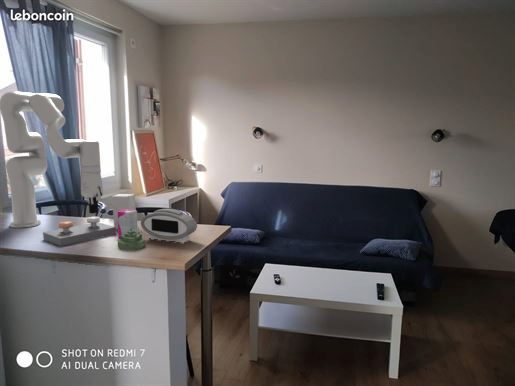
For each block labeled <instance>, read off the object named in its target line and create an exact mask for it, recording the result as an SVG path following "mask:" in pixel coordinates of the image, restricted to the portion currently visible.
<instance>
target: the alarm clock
mask: <svg viewBox="0 0 515 386" xmlns="http://www.w3.org/2000/svg"><path fill="white" fill-rule="evenodd" d="M140 226H141V228H142V229H143V231H144V232H146V233H147V234H148V239H149V238H151V239H150V240H154V239H158V240H157V241H161V240H166V241H165V242H169V241H176V242H183V243H182V244H185V243H184V242H186V241H188V240H189V241H190V236H189V235H191V234H193V233H194V232H195V231H197V228H198V224H197V221H196V220H195V218H193V217H192V216H191V215H189V214H188V213H185V212H183V211H181V210H179V209H175V208H161V209H156V210H154V211H153V212H152V213H149V214H146V215H145V216H143V217H142V218H141V221H140ZM189 241H188V242H189ZM176 242H175V243H176ZM186 243H187V242H186Z"/></svg>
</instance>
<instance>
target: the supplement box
mask: <svg viewBox="0 0 515 386" xmlns="http://www.w3.org/2000/svg"><path fill="white" fill-rule="evenodd" d="M138 228H139V227H138V210H122V211H118V230H117V231H118V233H117V234H118V237H117V238H118V240H119V239H121V238H120V236H121V235H123V234H124V233H128V231H130V229H132V231H135V232H136V233H139V231H138Z"/></svg>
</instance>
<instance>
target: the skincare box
mask: <svg viewBox="0 0 515 386" xmlns="http://www.w3.org/2000/svg"><path fill="white" fill-rule="evenodd" d="M111 201H112V202H111V203H112V215H113V227H116V231H118V211H122V210H136V194H135V193H118V194H115V195H112V196H111Z"/></svg>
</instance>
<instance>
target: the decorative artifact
mask: <svg viewBox="0 0 515 386" xmlns="http://www.w3.org/2000/svg"><path fill="white" fill-rule="evenodd" d="M120 238H121V239H119V238H118V239H117V247H118V249H119V248H120V249H119V250H123V249H125V250H127V251H131V250H133V249H134V250H138V249H143V248H144V247H145V246H146V242H145V241H146V239H145V237H143V235H142V233H140V232H138V233H136V232H135V231H132V229H130V231H128V233H124V234H123V235H121V236H120ZM125 250H124V251H125Z"/></svg>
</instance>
